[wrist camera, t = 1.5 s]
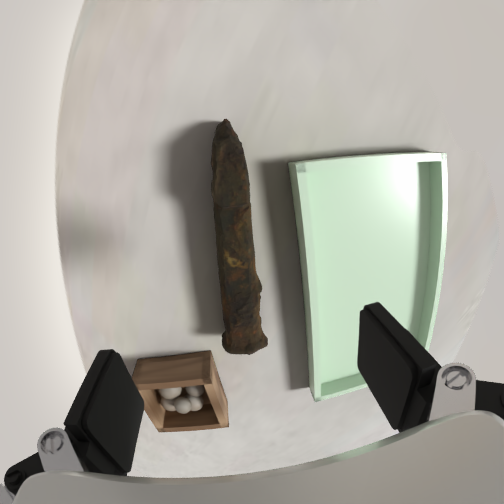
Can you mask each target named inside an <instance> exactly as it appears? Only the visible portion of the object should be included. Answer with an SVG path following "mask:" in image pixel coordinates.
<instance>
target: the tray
mask: <svg viewBox="0 0 504 504" xmlns="http://www.w3.org/2000/svg"><path fill="white" fill-rule="evenodd" d="M288 166H289V174H290V181H291V188H292V196H293V204H294V212H295V220H296V229H297V238H298V247H299V256H300V266H301V276H302V287H303V298H304V310H305V323H306V337H307V352H308V369H309V387H310V390H311V393H312V396H313V398H314V401H315V402H317V401H321V400H325V399H329V398H332V397H336V396H339V395H343V394H346V393H349V392H353V391H356V390H359V389H362V388H365V387H368V385H367V383H366V382H365V380H364V378H363V377H362V375H361V373H360V372H359V370H358V366H357V356H358V340H359V317H360V311H361V310H363V308H364V306H365V305H368V304H371V303H375V302H379V303H381V304H382V305H383V306H384V307H385V308H386V309H387V310H388V312H389V313H390V314H391V315H392V316H393V317H394V318H395V319H396V320H397V321H398V322H399V323H400V324H401V325H402V326H403V327H404V328H405V329H407V330H408V331H409V332H410V333H411V334H412V335H413V336H414V337H415V339H416V340H417V341H418V342H419V343H420V344H421V345H422V346H423V347H424V348H425V349H426V350H427V351H428V350H429V346H430V342H431V338H432V334H433V329H434V324H435V319H436V314H437V309H438V303H439V297H440V291H441V284H442V276H443V268H444V258H445V247H446V233H447V205H448V188H447V160H446V153H439V152H402V153H382V154H367V155H354V156H342V157H332V158H322V159H313V160H305V161H296V162H289V163H288Z"/></svg>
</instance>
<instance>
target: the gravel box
mask: <svg viewBox="0 0 504 504" xmlns="http://www.w3.org/2000/svg"><path fill="white" fill-rule="evenodd" d="M132 380H133V381H134V383H135V385H136V387H137V389H138V391H139V392H140V394H141V396H142V398H143V400H144V410H145V412H146V413H147V415H148V416H149V418H150V420H151V421H152V423H153V424H154V426H155V427H156V429H157V430H158V432H178V431H194V430H206V429H216V428H225V427H229V421H228V403H227V398H226V395H225V393H224V390H223V387H222V384H221V381H220V378H219V375H218V372H217V368H216V365H215V362H214V359H213V356H212V353H211V351H204V352H197V353H189V354H182V355H173V356H164V357H155V358H145V359H138V360H137V363H136V366H135V369H134V372H133V375H132Z"/></svg>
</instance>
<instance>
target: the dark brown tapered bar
mask: <svg viewBox="0 0 504 504" xmlns="http://www.w3.org/2000/svg"><path fill="white" fill-rule="evenodd" d="M211 165H212V169H213V180H212V184H211V193H212V197H213V201H214V218H215V230H216V244H217V259H218V267H219V279H220V286H221V299H222V306H223V318H224V323H225V328H226V331H225V332H224V333H223V334H222V346H223V348H224V349H225V351H227V352H228V353H230V354H248V355H250V354H253V353H255V352H256V351H258V350H260V349H262V348H264V347H266V346H267V345H268V339H267V337H266V336H265V334H264V333H263V331H262V328H261V317H260V315H259V311H260V299H261V296H260V292H261V291H262V285H261V282H260V280H259V278H258V276H257V274H256V268H255V251H254V243H253V234H252V222H251V203H250V192H249V191H250V188H249V186H250V183H249V176H248V170H247V165H246V160H245V156H244V151H243V147H242V143H241V142H240V141H239V139H238V136H237V134H236V133H235V132H234V130H233V128H232V126H231V124H230V121H228V120H227V119H224V120H223V121H222V122H221V123H220V124H219V125H218V126H217V128H216V132H215V137H214V140H213V144H212V159H211Z"/></svg>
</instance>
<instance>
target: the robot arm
mask: <svg viewBox="0 0 504 504" xmlns="http://www.w3.org/2000/svg"><path fill="white" fill-rule="evenodd" d="M357 366H358V370H359V372H360V373H361V375H362V377H363V378H364V380H365V382H366V383H367V385H368V387H369V389H370V390H371V392H372V394H373V395H374V397H375V399H376V400H377V402H378V404H379V406H380V407H381V409H382V411H383V413H384V414H385V416H386V418H387V420H388V421H389V423H390V425H391V427H392V428H393V429H394V430H396V429H398V431H399V433H398V434H396V435H393V436H391V437H388V438H385V439H383V440H380V441H377V442H374V443H372V444H369V445H366V446H363V447H360V448H357V449H354V450H351V451H348V452H344V453H341V454H338V455H334V456H331V457H327V458H323V459H320V460H316V461H312V462H307V463H303V464H299V465H294V466H289V467H284V468H279V469H273V470H267V471H261V472H254V473H247V474H238V475H229V476H217V477H200V478H148V477H131V476H127V472H130V471H131V467H132V462H133V457H134V452H135V447H136V442H137V438H138V433H139V428H140V424H141V420H142V415H143V411H144V400H143V398H142V396H141V394H140V392H139V391H138V389H137V387H136V385H135V383H134V381H133V380H132V378H131V376H130V374H129V372H128V370H127V368H126V366H125V364H124V362H123V360H122V358H121V356H120V354H119V353H116V352H115V351H114V350H113V349H110V350H100V351H99V352H98V354H97V356H96V358H95V360H94V361H93V363H92V365H91V367H90V369H89V371H88V373H87V375H86V377H85V379H84V381H83V383H82V385H81V387H80V389H79V391H78V393H77V396H76V398H75V400H74V402H73V404H72V406H71V408H70V410H69V413H68V415H67V417H66V419H65V422H64V425H65V426H66V427H65V430H63V429H60V428H52V429H49V430H47V431H45V432H44V433H43V434H42V435H41V436H40V438H39V440H38V444H37V448H38V452H37V453H36V454H33V455H32V456H30V457H28V458H26V459H24V460H23V461H21V462H19V463H17V464H16V465H13V466H12V467H10V468H9V469H8V470H7V472H6V474H5V478H4V482H5V486H4V485H3V484H0V504H504V384H502V383H494V382H487V381H479V380H476V377H475V373H474V372H473V370H472V369H470V367H468V366H467V365H464V364H461V363H450V364H447V365H445V366H443V367H441V366H440V365H439V364H438V362H437V361H436V360H435V359H434V358H433V357H432V356H431V355H430V354H429V353H428V351H427V350H426V349H425V348H424V347H423V346H422V345H421V344H420V343H419V342H418V341H417V340H416V339H415V337H414V336H413V335H412V334H411V333H410V332H409V331H408V330H407V329H405V328H404V327H403V326H402V325H401V324H400V323H399V322H398V321H397V320H396V319H395V318H394V317H393V316H392V315H391V314H390V313H389V312H388V310H387V309H386V308H385V307H384V306H383V305H382V304H381V303H379V302H375V303H371V304H368V305H365V306H364V308H363V310H361V311H360V317H359V340H358V356H357Z"/></svg>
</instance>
